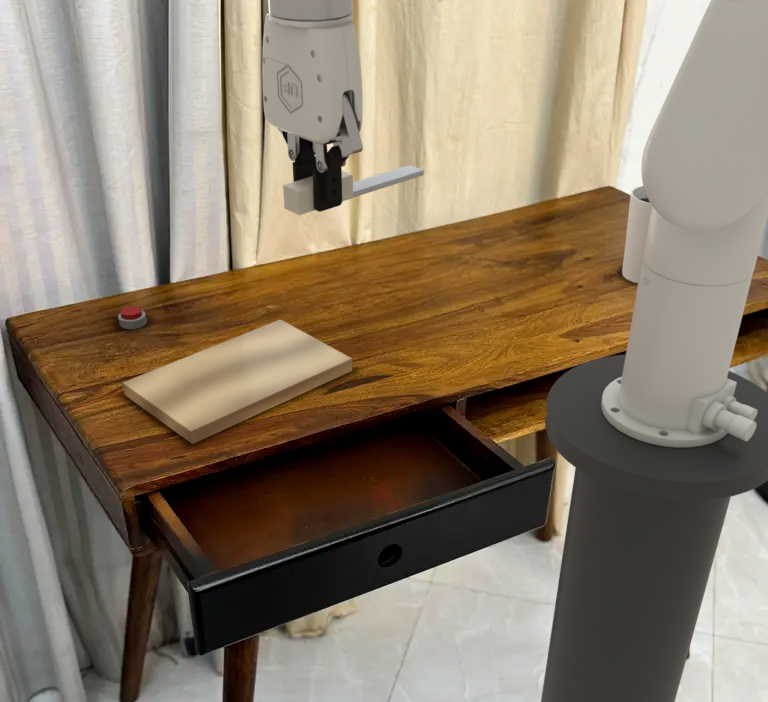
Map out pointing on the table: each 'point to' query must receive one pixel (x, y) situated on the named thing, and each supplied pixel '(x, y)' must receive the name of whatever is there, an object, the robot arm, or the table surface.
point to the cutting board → (236, 379)
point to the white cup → (636, 233)
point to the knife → (344, 187)
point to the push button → (132, 317)
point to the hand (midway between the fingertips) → (318, 201)
